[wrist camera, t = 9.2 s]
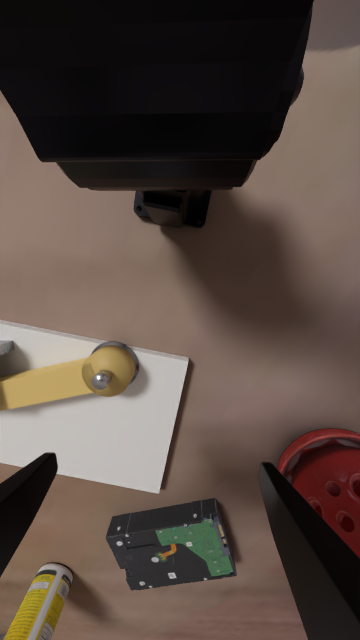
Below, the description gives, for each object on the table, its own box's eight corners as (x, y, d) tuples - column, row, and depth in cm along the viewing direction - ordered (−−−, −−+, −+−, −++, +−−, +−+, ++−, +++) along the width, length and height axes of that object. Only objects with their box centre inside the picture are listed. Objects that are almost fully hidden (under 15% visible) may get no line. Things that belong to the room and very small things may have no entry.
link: (128, 340, 18) (121, 347, 16) (140, 381, 19) (135, 391, 17) (-16, 372, 19) (-37, 381, 18) (2, 409, 20) (-16, 421, 19)
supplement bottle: (33, 574, 28) (-46, 726, 19) (49, 556, 27) (-26, 706, 18) (63, 590, 29) (2, 745, 19) (80, 572, 28) (23, 727, 18)
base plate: (-44, 310, 20) (-57, 312, 19) (188, 357, 20) (188, 361, 19) (-35, 446, 23) (-45, 453, 22) (159, 484, 23) (158, 493, 22)
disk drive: (137, 561, 28) (233, 547, 26) (131, 592, 25) (238, 579, 23) (112, 510, 26) (214, 492, 24) (103, 538, 23) (218, 519, 21)
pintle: (92, 336, 18) (71, 348, 15) (142, 346, 18) (132, 361, 15) (88, 381, 20) (67, 402, 16) (135, 391, 20) (124, 413, 16)
